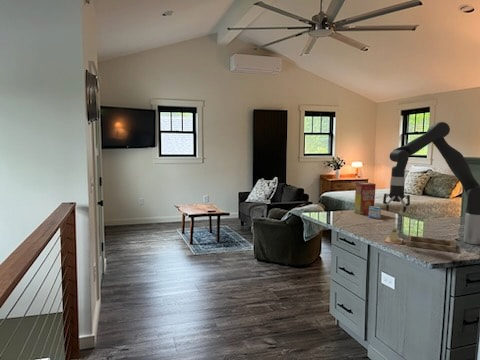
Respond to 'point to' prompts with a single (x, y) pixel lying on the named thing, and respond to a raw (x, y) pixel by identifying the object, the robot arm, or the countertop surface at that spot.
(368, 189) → the food packaging
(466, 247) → the countertop surface
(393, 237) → the lever cap
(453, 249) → the open wooden frame
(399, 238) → the mat
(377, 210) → the medicine box
